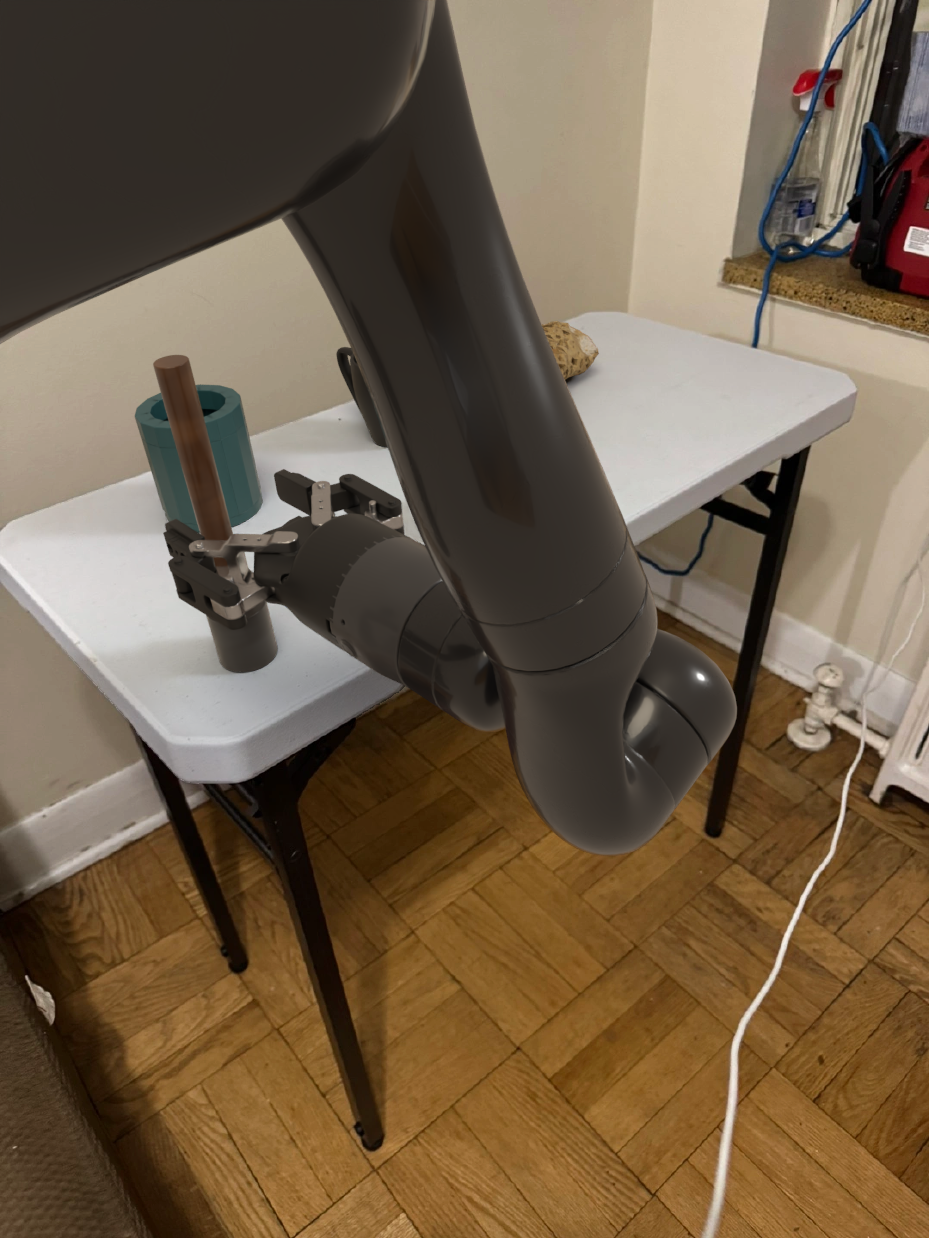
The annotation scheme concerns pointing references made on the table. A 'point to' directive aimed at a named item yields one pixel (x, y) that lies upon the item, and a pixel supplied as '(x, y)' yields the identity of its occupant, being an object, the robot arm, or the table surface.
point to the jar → (227, 449)
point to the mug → (360, 393)
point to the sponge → (570, 348)
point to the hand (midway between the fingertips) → (227, 507)
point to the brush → (210, 509)
